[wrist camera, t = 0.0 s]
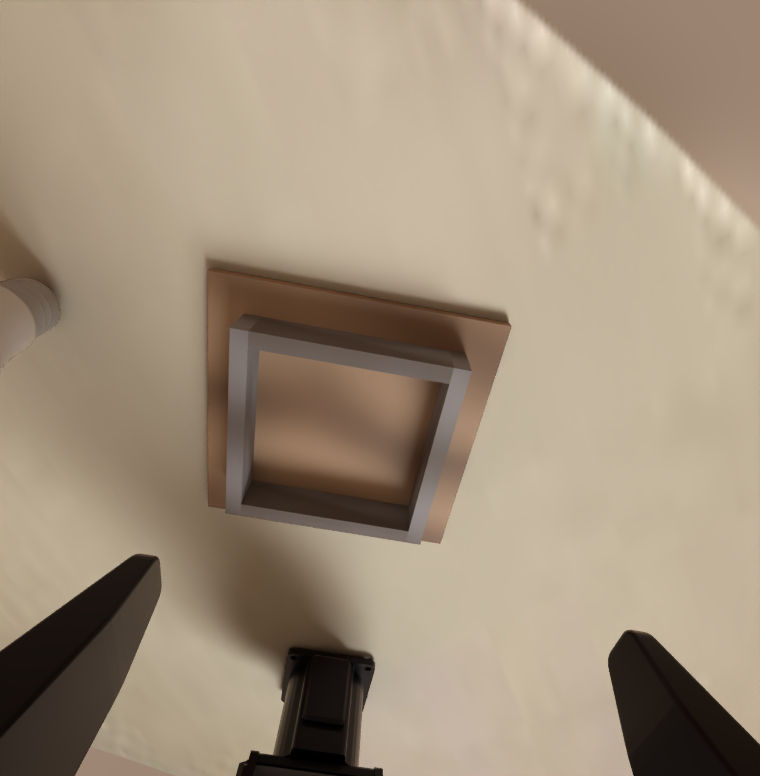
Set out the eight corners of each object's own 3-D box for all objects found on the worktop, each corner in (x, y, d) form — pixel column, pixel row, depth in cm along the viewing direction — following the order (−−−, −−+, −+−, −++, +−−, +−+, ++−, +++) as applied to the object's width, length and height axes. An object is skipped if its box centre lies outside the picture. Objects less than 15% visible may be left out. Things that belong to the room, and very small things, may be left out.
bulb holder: (439, 537, 27) (442, 570, 25) (211, 500, 27) (194, 531, 25) (509, 323, 21) (521, 342, 19) (212, 268, 20) (188, 281, 18)
